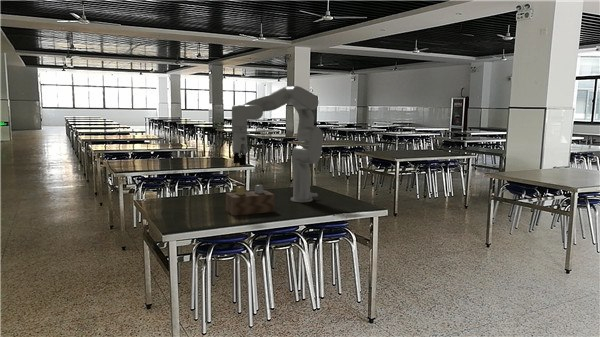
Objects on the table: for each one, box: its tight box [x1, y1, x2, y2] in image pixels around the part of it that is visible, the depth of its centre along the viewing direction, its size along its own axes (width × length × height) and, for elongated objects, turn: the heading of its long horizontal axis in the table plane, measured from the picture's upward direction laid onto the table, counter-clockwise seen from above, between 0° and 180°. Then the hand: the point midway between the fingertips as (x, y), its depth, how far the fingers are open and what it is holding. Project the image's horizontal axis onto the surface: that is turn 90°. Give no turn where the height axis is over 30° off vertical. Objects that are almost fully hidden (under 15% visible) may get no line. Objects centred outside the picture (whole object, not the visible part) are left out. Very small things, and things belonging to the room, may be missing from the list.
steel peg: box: [254, 184, 264, 194], centre depth 236 cm, size 4×4×8 cm
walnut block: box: [225, 189, 275, 216], centre depth 234 cm, size 22×12×9 cm, turn 116°
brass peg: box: [236, 185, 245, 196], centre depth 232 cm, size 4×4×8 cm
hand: (239, 164), depth 230 cm, fingers open, 9 cm apart
